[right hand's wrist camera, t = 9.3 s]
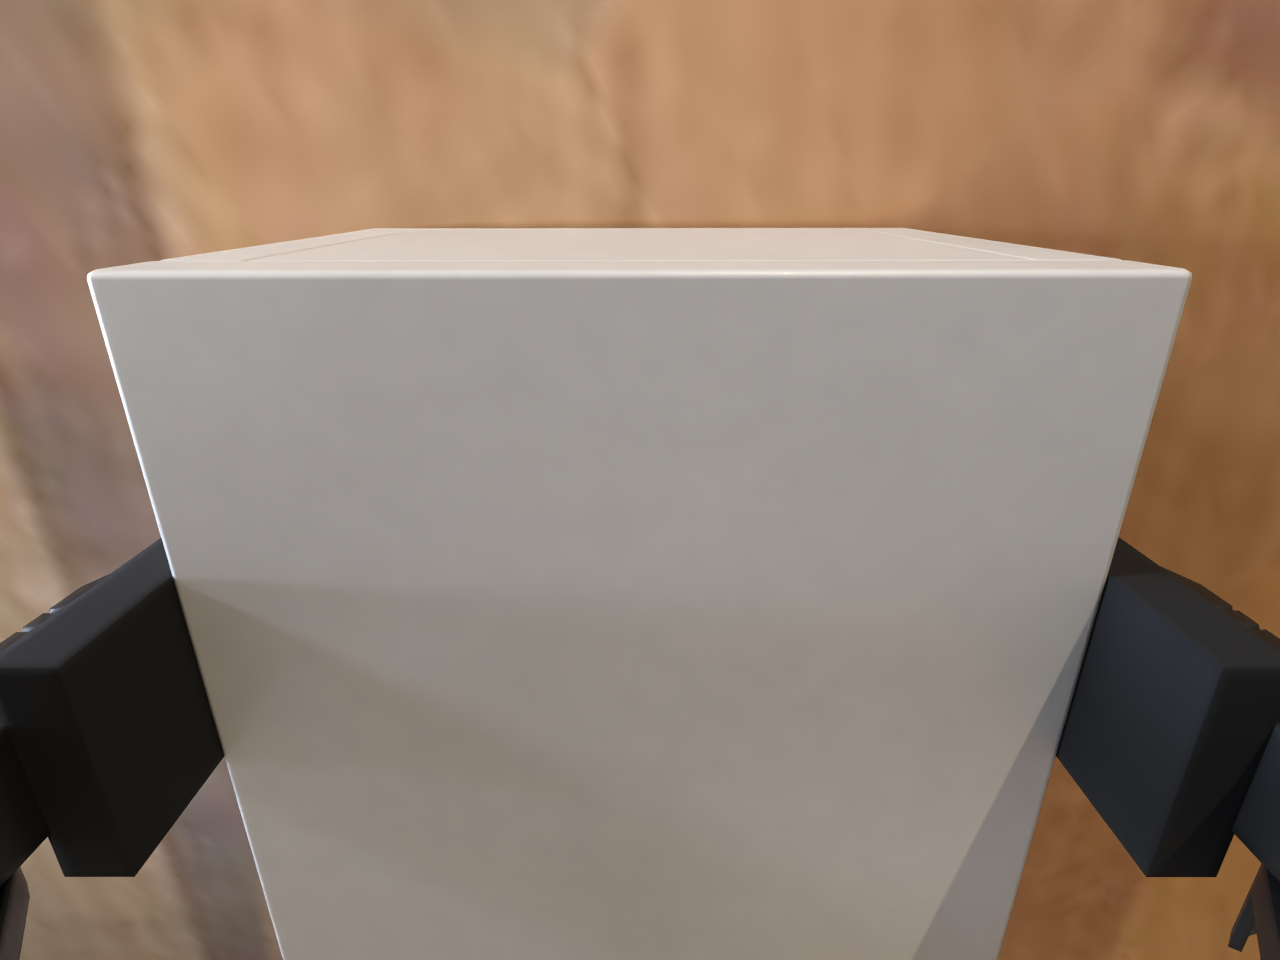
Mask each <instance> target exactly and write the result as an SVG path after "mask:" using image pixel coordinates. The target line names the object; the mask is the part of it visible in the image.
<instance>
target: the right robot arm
mask: <svg viewBox="0 0 1280 960" xmlns="http://www.w3.org/2000/svg"><path fill="white" fill-rule="evenodd" d="M1056 756H1057V758H1058V759H1059V760H1060V762H1061V763H1062V764H1063V766H1064V767H1065V768H1066V770H1067V771H1068V772H1069V774H1070V775H1071V776H1072V778H1073V779H1074V780H1075V782H1076V783H1077V784H1078V786H1079V787H1080V788H1081V790H1082V791H1083V793H1084V794H1085V795H1086V797H1087V798H1088V799H1089V801H1090V802H1091V803H1092V805H1093V806H1094V807H1095V809H1096V810H1097V811H1098V813H1099V814H1100V815H1101V817H1102V818H1103V819H1104V821H1105V822H1106V823H1107V825H1108V826H1109V827H1110V829H1111V830H1112V831H1113V833H1114V834H1115V836H1116V837H1117V838H1118V840H1119V841H1120V842H1121V844H1122V845H1123V846H1124V848H1125V849H1126V850H1127V852H1128V853H1129V854H1130V856H1131V857H1132V858H1133V860H1134V861H1135V862H1136V864H1137V865H1138V866H1139V868H1140V869H1141V870H1142V872H1143V873H1144V874H1145V876H1146V877H1216V876H1217V874H1218V871H1219V869H1220V867H1221V864H1222V862H1223V859H1224V857H1225V855H1226V852H1227V850H1228V848H1229V845H1230V843H1231V840H1232V838H1233V836H1234V834H1235V835H1236V836H1237V837H1238V838H1239V839H1240V840H1241V841H1242V842H1243V843H1244V844H1245V846H1246V847H1247V848H1248V849H1249V850H1250V851H1251V852H1252V853H1253V854H1254V855H1255V856H1256V857H1257V858H1258V859H1259V861H1260V862H1261V863H1262V864H1261V866H1260V868H1259V870H1258V873H1257V875H1256V877H1255V879H1254V882H1253V884H1252V886H1251V888H1250V890H1249V893H1248V895H1247V897H1246V899H1245V902H1244V904H1243V906H1242V908H1241V911H1240V913H1239V915H1238V917H1237V919H1236V922H1235V924H1234V926H1233V928H1232V931H1231V935H1230V940H1229V944H1228V947H1231V948H1233V949H1236V950H1238V951H1240V952H1241V951H1242V949H1243V947H1244V945H1245V943H1246V941H1247V938H1248V936H1250V935H1253V934H1256V933H1257V938H1258V944H1259V950H1260V956H1261V960H1280V639H1279V638H1277V637H1276V636H1275V635H1273V634H1272V633H1270V632H1269V631H1267V630H1260V629H1259V624H1257V623H1256V622H1254V621H1253V620H1251V619H1250V618H1248V617H1247V616H1246V615H1244V614H1243V613H1241V612H1240V611H1233V609H1232V606H1231V605H1230V604H1228V603H1227V602H1225V601H1224V600H1222V599H1221V598H1220V597H1218V596H1217V595H1215V594H1214V593H1212V592H1211V591H1209V590H1208V589H1207V588H1205V587H1204V586H1202V585H1201V584H1198V583H1196V582H1194V581H1192V580H1190V579H1187V578H1185V577H1183V576H1181V575H1178V574H1176V573H1174V572H1172V571H1169V570H1167V569H1165V568H1163V567H1160V566H1159V565H1157V564H1156V563H1154V562H1153V561H1152V560H1150V559H1149V558H1147V557H1146V556H1145V555H1143V554H1142V553H1140V552H1139V551H1137V550H1136V549H1135V548H1133V547H1132V546H1130V545H1129V544H1128V543H1126V542H1125V541H1123V540H1122V539H1121V538H1119V537H1118V540H1117V544H1116V547H1115V551H1114V554H1113V558H1112V561H1111V565H1110V568H1109V571H1108V575H1107V578H1106V582H1105V585H1104V589H1103V592H1102V596H1101V599H1100V603H1099V606H1098V610H1097V613H1096V617H1095V620H1094V624H1093V627H1092V631H1091V634H1090V638H1089V641H1088V645H1087V648H1086V652H1085V655H1084V659H1083V662H1082V666H1081V669H1080V673H1079V676H1078V680H1077V683H1076V687H1075V690H1074V694H1073V697H1072V701H1071V704H1070V708H1069V711H1068V715H1067V718H1066V722H1065V725H1064V729H1063V732H1062V736H1061V739H1060V743H1059V746H1058V750H1057V753H1056ZM223 757H224V753H223V749H222V746H221V742H220V739H219V735H218V732H217V728H216V725H215V721H214V718H213V715H212V711H211V708H210V704H209V701H208V697H207V694H206V690H205V687H204V683H203V680H202V676H201V673H200V669H199V666H198V662H197V659H196V656H195V652H194V649H193V645H192V642H191V638H190V635H189V631H188V628H187V624H186V621H185V617H184V614H183V610H182V607H181V603H180V600H179V597H178V593H177V590H176V586H175V583H174V579H173V576H172V572H171V569H170V565H169V562H168V558H167V555H166V551H165V548H164V544H163V541H162V538H160V539H159V540H157V541H156V542H155V543H153V544H152V545H150V546H149V547H147V548H146V549H145V550H143V551H142V552H140V553H139V554H138V555H136V556H135V557H133V558H132V559H131V560H129V561H128V562H126V563H125V564H124V565H122V566H121V567H119V568H118V569H117V570H115V571H114V572H112V573H111V574H109V575H107V576H104V577H102V578H100V579H98V580H96V581H93V582H91V583H89V584H87V585H84V586H82V587H80V588H79V589H78V590H76V591H75V592H73V593H72V594H70V595H69V596H67V597H66V598H65V599H63V600H62V601H60V602H59V603H57V604H56V605H55V606H53V607H52V608H50V612H49V613H43V614H42V615H40V616H39V617H37V618H36V619H34V620H33V621H32V622H30V623H29V624H27V625H26V626H24V627H23V632H16V633H14V634H13V635H12V636H10V637H9V638H7V639H6V640H4V641H3V642H1V643H0V960H19V959H20V953H21V947H22V941H23V934H24V928H25V922H26V916H27V910H28V904H29V897H30V896H29V891H28V886H27V882H26V879H25V877H24V875H23V873H22V870H21V868H20V866H21V865H22V864H23V862H24V861H25V860H26V859H27V858H28V857H29V856H30V855H31V854H32V853H33V852H34V851H35V850H36V848H37V847H38V846H39V845H40V844H41V843H42V842H43V841H44V840H45V839H46V838H47V837H48V838H49V840H50V843H51V845H52V847H53V850H54V852H55V854H56V857H57V859H58V862H59V864H60V866H61V869H62V871H63V874H64V876H65V877H135V875H136V874H137V873H138V871H139V870H140V869H141V867H142V866H143V865H144V863H145V862H146V861H147V859H148V858H149V857H150V855H151V854H152V853H153V851H154V850H155V849H156V847H157V846H158V845H159V843H160V842H161V840H162V839H163V838H164V836H165V835H166V834H167V832H168V831H169V830H170V828H171V827H172V826H173V824H174V823H175V822H176V820H177V819H178V818H179V816H180V815H181V814H182V812H183V811H184V810H185V808H186V807H187V806H188V804H189V803H190V801H191V800H192V799H193V797H194V796H195V795H196V793H197V792H198V791H199V789H200V788H201V787H202V785H203V784H204V783H205V781H206V780H207V779H208V777H209V776H210V775H211V773H212V772H213V771H214V769H215V768H216V767H217V765H218V764H219V763H220V761H221V760H222V758H223Z"/></svg>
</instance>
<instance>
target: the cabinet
mask: <svg viewBox="0 0 1280 960" xmlns="http://www.w3.org/2000/svg"><path fill="white" fill-rule="evenodd" d="M87 281H88V284H89V288H90V291H91V295H92V298H93V302H94V305H95V308H96V312H97V315H98V319H99V322H100V326H101V329H102V333H103V336H104V340H105V343H106V347H107V350H108V354H109V357H110V361H111V364H112V367H113V371H114V374H115V378H116V381H117V385H118V388H119V392H120V395H121V399H122V402H123V406H124V409H125V413H126V416H127V420H128V423H129V426H130V430H131V433H132V437H133V440H134V444H135V447H136V451H137V454H138V458H139V461H140V465H141V468H142V472H143V475H144V479H145V482H146V485H147V489H148V492H149V496H150V499H151V503H152V506H153V510H154V513H155V517H156V520H157V524H158V527H159V531H160V534H161V538H162V541H163V544H164V548H165V551H166V555H167V558H168V562H169V565H170V569H171V572H172V576H173V579H174V583H175V586H176V590H177V593H178V597H179V600H180V603H181V607H182V610H183V614H184V617H185V621H186V624H187V628H188V631H189V635H190V638H191V642H192V645H193V649H194V652H195V656H196V659H197V662H198V666H199V669H200V673H201V676H202V680H203V683H204V687H205V690H206V694H207V697H208V701H209V704H210V708H211V711H212V715H213V718H214V721H215V725H216V728H217V732H218V735H219V739H220V742H221V746H222V749H223V753H224V756H225V760H226V763H227V767H228V770H229V774H230V777H231V780H232V784H233V787H234V791H235V794H236V798H237V801H238V805H239V808H240V812H241V815H242V819H243V822H244V826H245V829H246V833H247V836H248V839H249V843H250V846H251V850H252V853H253V857H254V860H255V864H256V867H257V871H258V874H259V878H260V881H261V885H262V888H263V892H264V895H265V898H266V902H267V905H268V909H269V912H270V916H271V919H272V923H273V926H274V930H275V933H276V937H277V940H278V944H279V947H280V951H281V954H282V957H283V960H997V959H998V956H999V952H1000V949H1001V945H1002V942H1003V938H1004V935H1005V931H1006V928H1007V924H1008V921H1009V917H1010V914H1011V910H1012V907H1013V903H1014V900H1015V896H1016V893H1017V889H1018V886H1019V882H1020V879H1021V876H1022V872H1023V869H1024V865H1025V862H1026V858H1027V855H1028V851H1029V848H1030V844H1031V841H1032V837H1033V834H1034V830H1035V827H1036V823H1037V820H1038V816H1039V813H1040V809H1041V806H1042V802H1043V799H1044V795H1045V792H1046V788H1047V785H1048V781H1049V778H1050V774H1051V771H1052V767H1053V764H1054V760H1055V757H1056V753H1057V750H1058V746H1059V743H1060V739H1061V736H1062V732H1063V729H1064V725H1065V722H1066V718H1067V715H1068V711H1069V708H1070V704H1071V701H1072V697H1073V694H1074V690H1075V687H1076V683H1077V680H1078V676H1079V673H1080V669H1081V666H1082V662H1083V659H1084V655H1085V652H1086V648H1087V645H1088V641H1089V638H1090V634H1091V631H1092V627H1093V624H1094V620H1095V617H1096V613H1097V610H1098V606H1099V603H1100V599H1101V596H1102V592H1103V589H1104V585H1105V582H1106V578H1107V575H1108V571H1109V568H1110V565H1111V561H1112V558H1113V554H1114V551H1115V547H1116V544H1117V540H1118V537H1119V533H1120V530H1121V526H1122V523H1123V519H1124V516H1125V512H1126V509H1127V505H1128V502H1129V498H1130V495H1131V491H1132V488H1133V484H1134V481H1135V477H1136V474H1137V470H1138V467H1139V463H1140V460H1141V456H1142V453H1143V449H1144V446H1145V442H1146V439H1147V435H1148V432H1149V428H1150V425H1151V421H1152V418H1153V414H1154V411H1155V407H1156V404H1157V400H1158V397H1159V393H1160V390H1161V386H1162V383H1163V379H1164V376H1165V372H1166V369H1167V365H1168V362H1169V358H1170V355H1171V351H1172V348H1173V344H1174V341H1175V337H1176V334H1177V330H1178V327H1179V323H1180V320H1181V316H1182V313H1183V309H1184V306H1185V302H1186V299H1187V295H1188V292H1189V288H1190V285H1191V281H1192V273H1191V272H1190V271H1188V270H1186V269H1184V268H1177V267H1170V266H1163V265H1156V264H1149V263H1142V262H1135V261H1128V260H1121V259H1116V258H1109V257H1102V256H1095V255H1088V254H1081V253H1074V252H1067V251H1060V250H1053V249H1046V248H1040V247H1033V246H1026V245H1019V244H1012V243H1005V242H998V241H991V240H984V239H977V238H970V237H963V236H956V235H949V234H942V233H935V232H928V231H921V230H915V229H908V228H374V229H367V230H360V231H355V232H349V233H342V234H335V235H328V236H321V237H314V238H308V239H301V240H294V241H287V242H280V243H274V244H267V245H260V246H253V247H246V248H240V249H233V250H226V251H219V252H212V253H205V254H199V255H192V256H185V257H178V258H171V259H165V260H161V261H151V262H144V263H137V264H130V265H124V266H117V267H110V268H103V269H96V270H94V271H92V272H90V273H89V274H88V277H87Z"/></svg>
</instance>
